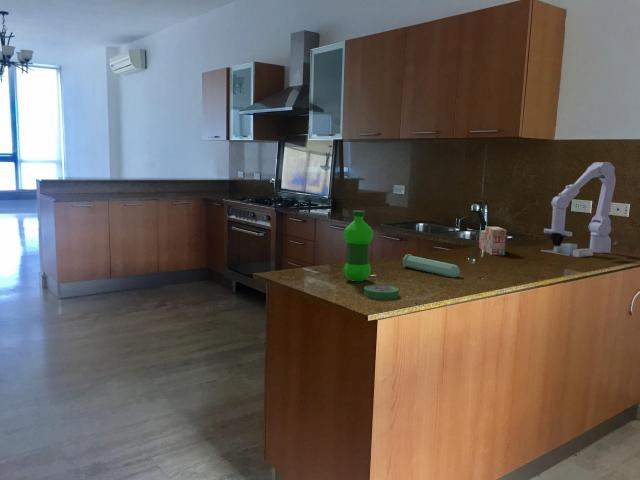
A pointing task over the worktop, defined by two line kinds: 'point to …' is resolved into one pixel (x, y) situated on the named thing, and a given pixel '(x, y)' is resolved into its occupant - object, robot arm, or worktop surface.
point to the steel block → (568, 248)
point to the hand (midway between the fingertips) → (556, 249)
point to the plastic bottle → (357, 248)
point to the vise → (575, 252)
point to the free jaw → (557, 248)
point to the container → (431, 266)
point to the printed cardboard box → (493, 240)
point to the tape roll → (381, 291)
